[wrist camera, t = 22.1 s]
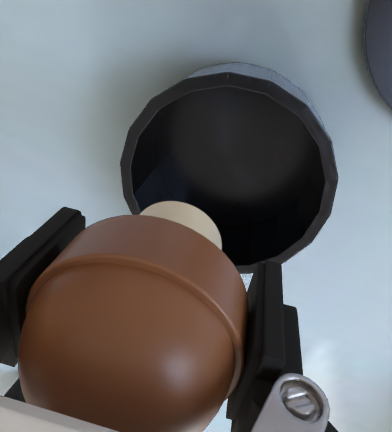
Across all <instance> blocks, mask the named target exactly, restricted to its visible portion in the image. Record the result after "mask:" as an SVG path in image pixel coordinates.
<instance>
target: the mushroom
mask: <svg viewBox="0 0 392 432" xmlns="http://www.w3.org/2000/svg"><path fill="white" fill-rule="evenodd" d="M248 309H249V305H248V296H247V292H246V288H245V285H244V283H243V280H242V278H241V276H240V274H239V272H238V271H237V269H236V268H235V266H234V264H233V263H232V262H231V261H230V259H229V258H228V257H227V256H226V254H225V253H224V252H223V251H222V242H221V237H220V233H219V231H218V229H217V227H216V225H215V224H214V222H213V221H212V220H211V218H210V217H208V216H207V215H206V214H205V213H204V212H203V211H201V210H200V209H198V208H196V207H194V206H192V205H190V204H187V203H183V202H178V201H164V202H159V203H156V204H153V205H151V206H149V207H148V208H146V209H145V210H144V211H142V212H141V213H140V215H122V216H116V217H110V218H107V219H104V220H101V221H98V222H96V223H94V224H92V225H90V226H88V227H87V228H85V229H84V230H83V231H81V232H80V233H79V234H78V235H77V236H76V237H75V238H74V239H73V240H72V241H71V242H70V243H69V244H68V246H67V247H66V248H65V249H64V250H63V251H62V252H61V253H60V254H59V255H58V256H57V257H56V259H55V260H54V261H53V262H52V263H51V264H50V265H49V266H48V267H47V268H46V269H45V270H44V272H43V273H42V274H41V275H40V276H39V277H38V278H37V279H36V281H35V282H34V284H33V285H32V287H31V289H30V292H29V294H28V297H27V302H26V307H25V312H26V318H25V321H24V323H23V326H22V330H21V336H20V342H19V348H18V373H19V379H20V384H21V389H22V393H23V396H24V398H25V401H26V403H27V404H31V405H34V406H37V407H40V408H44V409H47V410H50V411H53V412H57V413H60V414H63V415H66V416H70V417H73V418H76V419H79V420H83V421H86V422H89V423H92V424H96V425H99V426H102V427H105V428H109V429H112V430H115V431H118V432H203V431H204V430H205V428H206V427H207V426H208V425H209V423H210V422H211V421H212V419H213V418H214V417H215V415H216V414H217V413H218V411H219V409H220V407H221V405H222V404H223V402H224V401H225V400H226V399H227V398H228V397H229V396H230V395H231V394H232V393H233V391H234V390H235V389H236V387H237V384H238V382H239V380H240V377H241V374H242V372H243V368H244V360H245V347H246V334H247V321H248Z"/></svg>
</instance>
